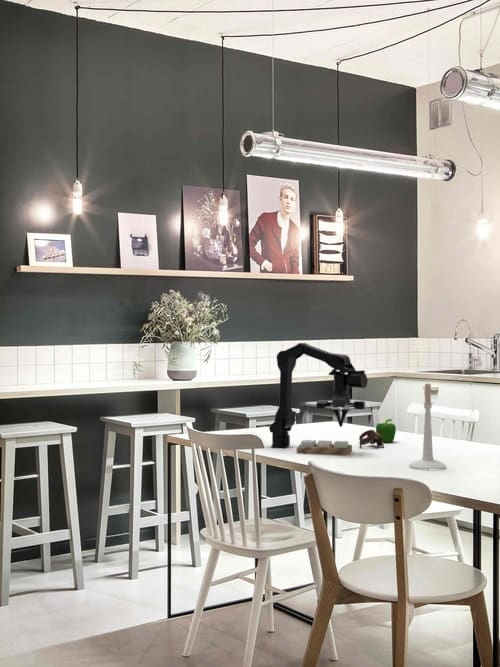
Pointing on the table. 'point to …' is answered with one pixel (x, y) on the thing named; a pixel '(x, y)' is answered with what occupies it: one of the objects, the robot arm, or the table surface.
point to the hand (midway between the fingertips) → (340, 426)
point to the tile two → (324, 443)
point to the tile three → (341, 444)
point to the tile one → (308, 443)
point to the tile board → (324, 450)
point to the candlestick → (427, 439)
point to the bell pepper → (386, 431)
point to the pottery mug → (371, 438)
